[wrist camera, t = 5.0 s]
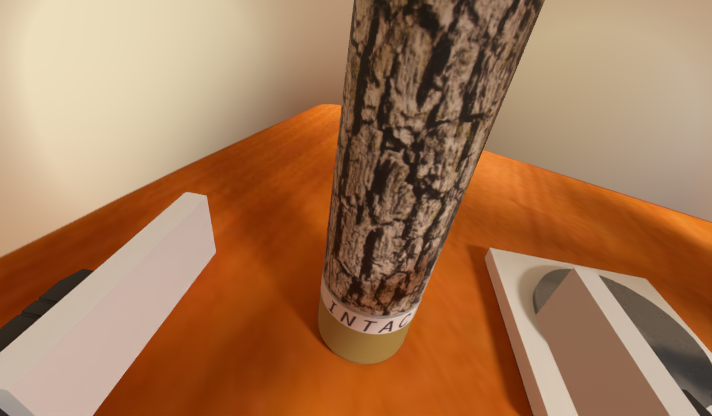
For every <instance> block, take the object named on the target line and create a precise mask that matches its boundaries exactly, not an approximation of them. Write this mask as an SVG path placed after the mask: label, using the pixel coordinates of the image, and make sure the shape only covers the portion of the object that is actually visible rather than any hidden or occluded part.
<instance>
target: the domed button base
mask: <svg viewBox="0 0 712 416" xmlns="http://www.w3.org/2000/svg"><path fill="white" fill-rule="evenodd" d="M484 259H485V262H486V265H487V269H488V272H489V275H490V278H491V281H492V285H493V288H494V291H495V294H496V297H497V301H498V304H499V307H500V310H501V313H502V317H503V320H504V323H505V326H506V329H507V333H508V336H509V339H510V342H511V345H512V349H513V352H514V355H515V358H516V362H517V365H518V368H519V371H520V374H521V378H522V381H523V384H524V387H525V390H526V394H527V397H528V400H529V403H530V406H531V410H532V413H533V416H578V414H577V412H576V409H575V407H574V405H573V402H572V400H571V397H570V395H569V393H568V390H567V388H566V386H565V383H564V381H563V379H562V376H561V374H560V372H559V369H558V367H557V365H556V362H555V360H554V358H553V355H552V353H551V351H550V348H549V346H548V344H547V341H546V339H545V336H544V334H543V332H542V329H541V327H540V325H539V322H538V320H537V318H536V314H537V313H538V312H539V310H540V309H541V308H542V307H543V305H544V304H545V303H546V301H547V300H548V299H549V298H550V296H551V295H552V294H553V293H554V291H555V290H556V289H557V287H558V286H559V285H560V284H561V282H562V281H563V280H564V278H565V277H566V276H567V275H568V273H569V272H570V271H571V270H572V268H573V267H576V268H581V269H587V270H592V271H596V272H597V274H598V275H599V277H600V278H601V279H602V281H603V282H604V284H605V285H606V286H607V288H608V289H609V290H610V292H611V293H612V295H613V296H614V297H615V299H616V300H617V302H618V303H619V304H620V306H621V307H622V309H623V310H624V311H625V313H626V314H627V315H628V317H629V318H630V320H631V321H632V322H633V324H634V325H635V327H636V328H637V329H638V331H639V332H640V333H641V335H642V336H643V338H644V339H645V340H646V342H647V343H648V345H649V346H650V347H651V349H652V350H653V351H654V353H655V354H656V356H657V357H658V358H659V360H660V361H661V363H662V364H663V365H664V367H665V368H666V369H667V371H668V372H669V374H670V375H671V376H672V378H673V379H674V381H675V382H676V383H677V385H678V386H679V387H680V389H685V390H687V391H688V392H689V393H690V394H691V395H692V396H693V397H694V398H695V399H697V400H698V401H699V402H700V403H701V404H702V405H703V406H704V407H705V408H706V409H707V410H708V411H709V412H710V413H711V414H712V353H711V352H710V351H709V350H708V349H707V347H706V346H705V345H704V344H703V343H702V342H701V341H700V339H699V338H698V337H697V336H696V335H695V334H694V333H693V331H692V330H691V329H690V328H689V327H688V326H687V325H686V323H685V322H684V321H683V320H682V319H681V318H680V317H679V316H678V314H677V313H676V312H675V311H674V310H673V309H672V308H671V306H670V305H669V304H668V303H667V302H666V301H665V300H664V298H663V297H662V296H661V295H660V294H659V293H658V292H657V291H656V289H655V288H654V287H653V286H652V285H651V284H650V283H649V281H648V280H647V279H645V278H640V277H635V276H630V275H625V274H620V273H615V272H610V271H605V270H600V269H595V268H590V267H585V266H579V265H574V264H569V263H564V262H559V261H554V260H549V259H544V258H539V257H534V256H529V255H524V254H519V253H514V252H509V251H504V250H499V249H494V248H489V250H488V252H487V254H486V256H485V258H484Z"/></svg>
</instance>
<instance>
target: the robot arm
mask: <svg viewBox="0 0 712 416" xmlns="http://www.w3.org/2000/svg"><path fill="white" fill-rule="evenodd" d="M215 253H216V249H215V243H214V237H213V231H212V225H211V219H210V213H209V207H208V201H207V196H205V195H200V194H195V193H190V192H185V193H184V194H183V195H182V196H181V197H179V198H178V199H177V200H176V201H175V202H174V203H172V204H171V205H170V206H169V207H168V208H167V209H166V210H164V211H163V212H162V213H161V214H160V215H159V216H157V217H156V218H155V219H154V220H153V221H152V222H151V223H149V224H148V225H147V226H146V227H145V228H144V229H142V230H141V231H140V232H139V233H138V234H137V235H135V236H134V237H133V238H132V239H131V240H130V241H129V242H127V243H126V244H125V245H124V246H123V247H122V248H120V249H119V250H118V251H117V252H116V253H115V254H114V255H112V256H111V257H110V258H109V259H108V260H107V261H105V262H104V263H103V264H102V265H101V266H100V267H98V268H97V269H96V270H95V271H91V270H86V269H82V270H80V271H78V272H76V273H75V274H73V275H71V276H69V277H67V278H65V279H63V280H61V281H59V282H58V283H57V284H55V285H54V286H53V287H52V288H50V289H49V290H48V291H47V292H45V293H44V294H43V295H42V296H40V297H39V300H38V301H34V302H33V303H32V304H31V305H29V306H28V307H27V308H26V309H24V310H23V311H22V314H21V315H17V316H16V317H14V318H13V319H12V320H11V321H9V322H8V323H7V324H6V325H5V326H3V327H2V328H1V329H0V416H93V414H94V413H95V412H96V410H97V409H98V408H99V406H100V405H101V404H102V402H103V401H104V400H105V398H106V397H107V396H108V394H109V393H110V392H111V391H112V389H113V388H114V387H115V385H116V384H117V383H118V381H119V380H120V379H121V377H122V376H123V375H124V373H125V372H126V371H127V369H128V368H129V367H130V365H131V364H132V363H133V361H134V360H135V359H136V357H137V356H138V355H139V353H140V352H141V351H142V349H143V348H144V347H145V345H146V344H147V343H148V341H149V340H150V339H151V337H152V336H153V335H154V334H155V332H156V331H157V330H158V328H159V327H160V326H161V324H162V323H163V322H164V320H165V319H166V318H167V316H168V315H169V314H170V312H171V311H172V310H173V308H174V307H175V306H176V304H177V303H178V302H179V300H180V299H181V298H182V296H183V295H184V294H185V292H186V291H187V290H188V288H189V287H190V286H191V284H192V283H193V282H194V280H195V279H196V278H197V277H198V275H199V274H200V273H201V271H202V270H203V269H204V267H205V266H206V265H207V263H208V262H209V261H210V259H211V258H212V257H213V255H214V254H215ZM536 318H537V320H538V322H539V325H540V327H541V329H542V332H543V334H544V336H545V339H546V341H547V344H548V346H549V348H550V351H551V353H552V355H553V358H554V360H555V362H556V365H557V367H558V369H559V372H560V374H561V376H562V379H563V381H564V383H565V386H566V388H567V390H568V393H569V395H570V397H571V400H572V402H573V405H574V407H575V409H576V412H577V414H578V416H712V414H711V413H710V412H709V411H708V410H707V409H706V408H705V407H704V406H703V405H702V404H701V403H700V402H699V401H698V400H697V399H695V398H694V397H693V396H692V395H691V394H690V393H689V392H688V391H687V390H685V389H680V387H679V386H678V385H677V383H676V382H675V381H674V379H673V378H672V376H671V375H670V374H669V372H668V371H667V369H666V368H665V367H664V365H663V364H662V363H661V361H660V360H659V358H658V357H657V356H656V354H655V353H654V351H653V350H652V349H651V347H650V346H649V345H648V343H647V342H646V340H645V339H644V338H643V336H642V335H641V333H640V332H639V331H638V329H637V328H636V327H635V325H634V324H633V322H632V321H631V320H630V318H629V317H628V315H627V314H626V313H625V311H624V310H623V309H622V307H621V306H620V304H619V303H618V302H617V300H616V299H615V297H614V296H613V295H612V293H611V292H610V290H609V289H608V288H607V286H606V285H605V284H604V282H603V281H602V279H601V278H600V277H599V275H598V274H597V272H596V271H592V270H587V269H581V268H576V267H573V268H572V270H571V271H570V272H569V273H568V275H567V276H566V277H565V278H564V280H563V281H562V282H561V284H560V285H559V286H558V287H557V289H556V290H555V291H554V293H553V294H552V295H551V296H550V298H549V299H548V300H547V301H546V303H545V304H544V305H543V307H542V308H541V309H540V310H539V312H538V313H537V314H536Z"/></svg>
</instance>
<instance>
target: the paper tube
mask: <svg viewBox="0 0 712 416" xmlns="http://www.w3.org/2000/svg"><path fill="white" fill-rule="evenodd" d="M543 3H544V0H354V6H353V14H352V22H351V31H350V40H349V48H348V57H347V66H346V75H345V83H344V91H343V100H342V108H341V117H340V126H339V134H338V143H337V152H336V160H335V169H334V177H333V186H332V195H331V203H330V212H329V220H328V229H327V238H326V246H325V255H324V263H323V272H322V281H321V292H320V301H319V309H318V327H319V331H320V334H321V337H322V339H323V340H324V342H325V343H326V345H327V346H328V347H329V348H330V349H331V350H332V351H333V352H334V353H335V354H337V355H338V356H339V357H341V358H343V359H345V360H347V361H350V362H353V363H358V364H375V363H379V362H382V361H384V360H386V359H388V358H390V357H391V356H393V355H394V354H395V353H396V352H397V351H398V349H399V348H400V347H401V345H402V343H403V341H404V339H405V336H406V334H407V331H408V329H409V327H410V324H411V322H412V319H413V317H414V315H415V313H416V311H417V308H418V306H419V303H420V301H421V299H422V296H423V294H424V291H425V289H426V286H427V284H428V282H429V279H430V277H431V274H432V272H433V269H434V267H435V265H436V262H437V260H438V257H439V255H440V253H441V250H442V248H443V245H444V243H445V240H446V238H447V236H448V233H449V231H450V228H451V226H452V223H453V221H454V219H455V216H456V214H457V211H458V209H459V207H460V204H461V202H462V199H463V197H464V194H465V192H466V190H467V187H468V185H469V182H470V180H471V177H472V175H473V173H474V170H475V168H476V165H477V163H478V161H479V158H480V156H481V153H482V151H483V148H484V146H485V144H486V141H487V139H488V136H489V134H490V131H491V129H492V127H493V124H494V122H495V119H496V117H497V115H498V112H499V110H500V107H501V105H502V102H503V100H504V98H505V95H506V93H507V90H508V88H509V85H510V83H511V81H512V78H513V76H514V73H515V71H516V68H517V66H518V64H519V61H520V59H521V56H522V54H523V52H524V49H525V47H526V44H527V42H528V39H529V37H530V35H531V32H532V30H533V27H534V25H535V23H536V20H537V18H538V15H539V12H540V10H541V8H542V5H543Z"/></svg>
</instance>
